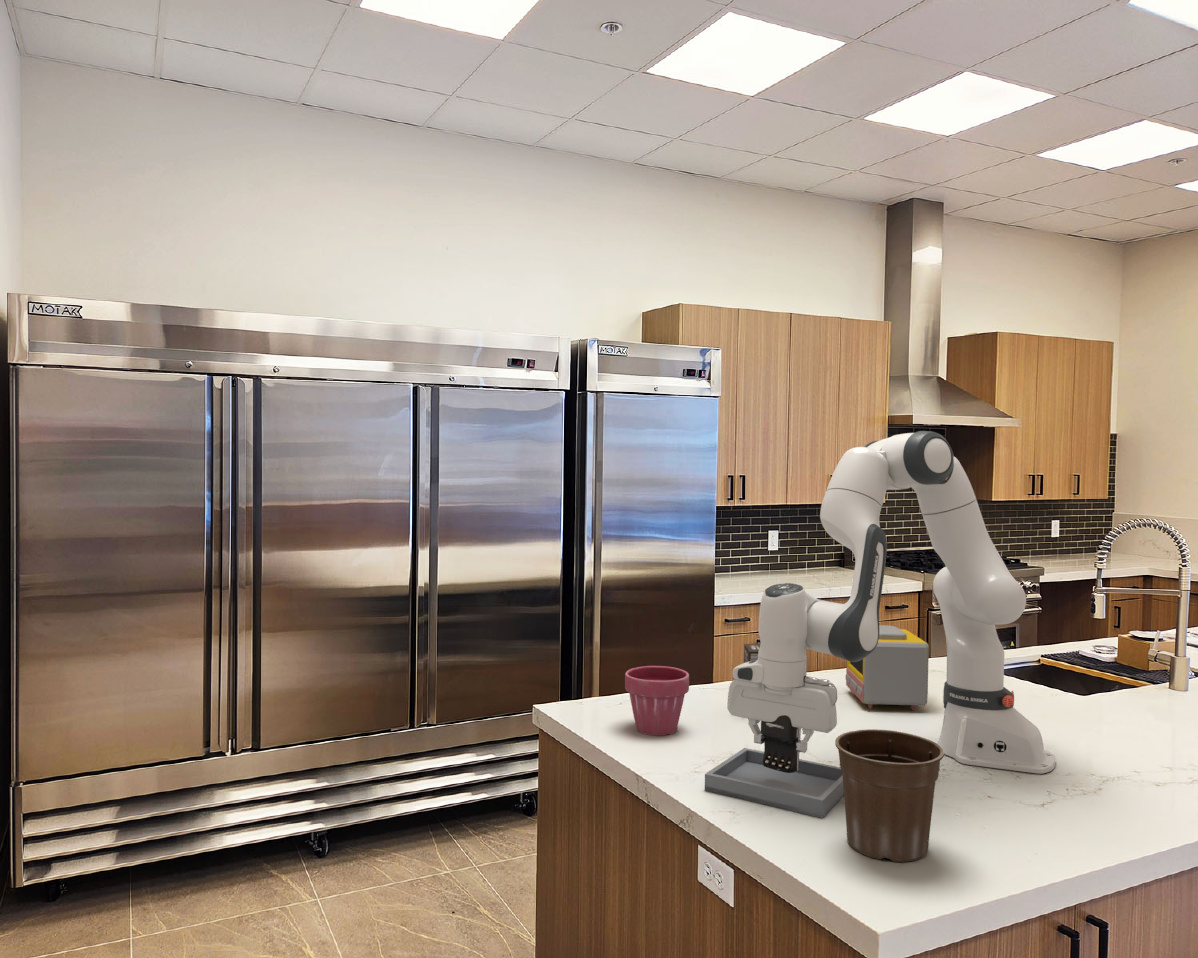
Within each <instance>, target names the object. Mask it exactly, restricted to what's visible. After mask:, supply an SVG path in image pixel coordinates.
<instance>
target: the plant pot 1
mask: <svg viewBox="0 0 1198 958" xmlns="http://www.w3.org/2000/svg"><path fill="white" fill-rule="evenodd" d="M624 689H625V690H626V692H627V693H628V694H629V698H630V699H629V700H630V704H631V708H632V714H633V718H634V724H635V729H636V730H637V731H638V732H639V733H641V734H644V735H648V734H649V735H650V736H667V734H668V735H671V734H674V733H675V732H677V729H678V726H679V721H680V717H681V714H682V708H683V705H684V700H685V695H686V694H687V693H688V692H689V691H690V674H689V672H688V671H686V670H684V669H681V668H677V667H672V666H664V665H663V666H662V665H647V666H646V665H645V666H638V667H633V668H630V669H628V670H627V671H626V672H625V674H624Z"/></svg>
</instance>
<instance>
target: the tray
mask: <svg viewBox="0 0 1198 958" xmlns="http://www.w3.org/2000/svg"><path fill="white" fill-rule="evenodd" d="M763 757H764V751H761V750H756V749H752V748H747V747H744V748H741V749H740V750H739V751H737V752H735V754H733V755H732V756H730V757H728V758H727V759H725V760H723V761H722V762H721V763H719V764H718V765H716V766H715V767H713V768H711V770H709V771H708V772H705V773H704V791H705V792H711V793H714V794H719V795H723V796H728V797H731V798H736V799H738V800H739V799H741V800H744V801H749V802H753V803H757V804H760V805H765V806H769V807H774V808H778V809H782V810H787V811H790V812H791V811H792V812H795V813H799V814H804V815H808V816H812V817H817V818H820V819H823V818H824V817H825V816H826V815H827V814H828V813H829V812H830V811H831V810H832V809H833V807H835V806H836V805H837V803H839V801H840V800H841V799H843V798H844V786H843V774H842V770H841V768H840V766H836V765H832V764H831V765H830V764H826V763H821V762H817V761H816V762H815V761H812V760H806V759H802V758H799V770H798V771H797V772H793V773H785V772H781V771H777V770H774V769H770V768H767V767H765V766H763Z"/></svg>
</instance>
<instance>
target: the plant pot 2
mask: <svg viewBox="0 0 1198 958" xmlns="http://www.w3.org/2000/svg"><path fill="white" fill-rule="evenodd" d="M834 741H835V742H834V743H835V744H834V745H835V747H836V749H837V750H838V756H839V757H838V758H839V767H840V768H841V770H842V774H843V786H844V796H843V798H844V810H845V825H846V838H847V839H846V840H847V842H848V844H849V845H850V847H851V848H852V849H854V850H855V851H856V852H858V853H860V854H862V855H863V856H866V857H869V858H871V859H874V860H878V861H879V860H883V859H884V858H885V859H888V860H891V861H892V862H893V863H906V862H913V861H917V860H920V859H922V858H924V857H925V856H926V855H927V853H928V851H929V845H930V834H931V833H930V832H931V822H932V815H933V804H934V798H935V797H934V796H935V787H936V781H937V780H938V779H939V774H940V765H941V760H942V759H943V758H944V755H945V754H944V751H943V749H942V748H941V747H940V746H939V745H938V744H937V743H938V742H935V741H932V740H931V739H929V738H925V737H922V736H919V735H915V734H912V733H908V732H904V731H903V732H901V731H897V730H890V729H889V730H888V729H877V728H876V729H869V728H868V729H857V730H852V731H847V732H844V733H841V734H840V735H838V736H837V737H836V738H835V740H834Z"/></svg>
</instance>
